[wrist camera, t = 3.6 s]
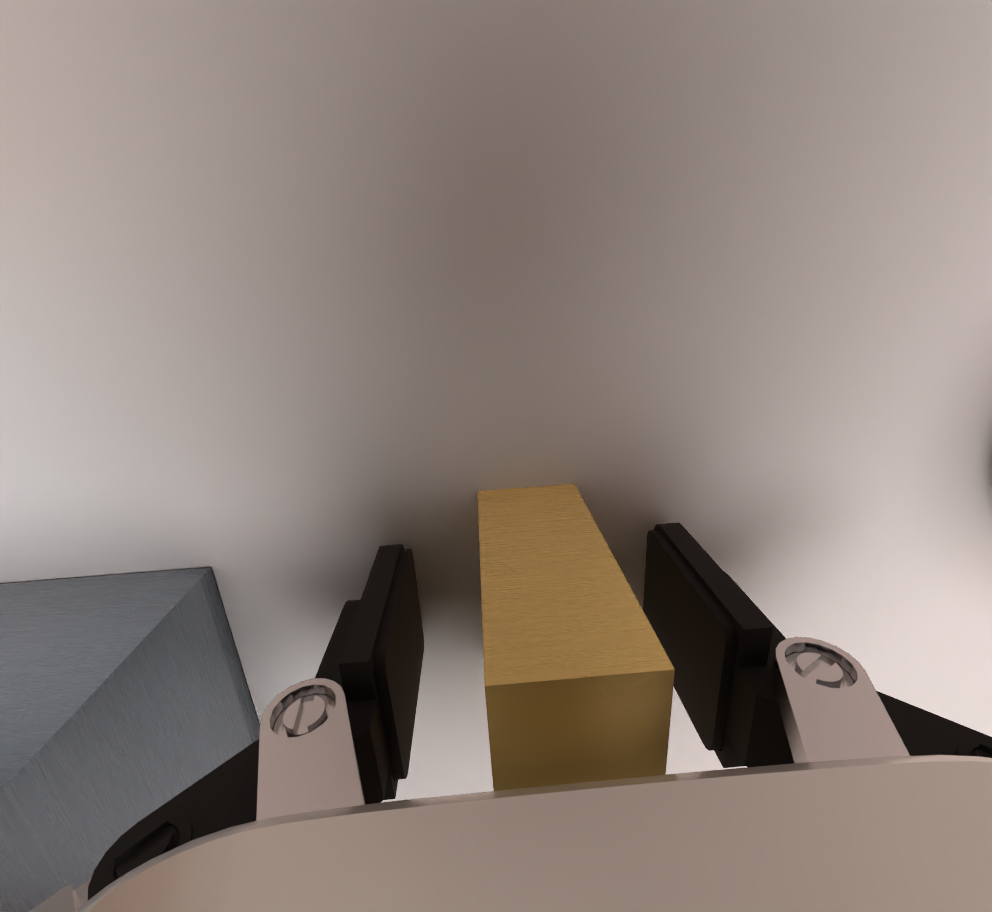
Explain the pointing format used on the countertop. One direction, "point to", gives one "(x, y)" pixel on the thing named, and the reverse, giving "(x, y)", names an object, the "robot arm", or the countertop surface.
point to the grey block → (107, 715)
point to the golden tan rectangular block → (565, 648)
